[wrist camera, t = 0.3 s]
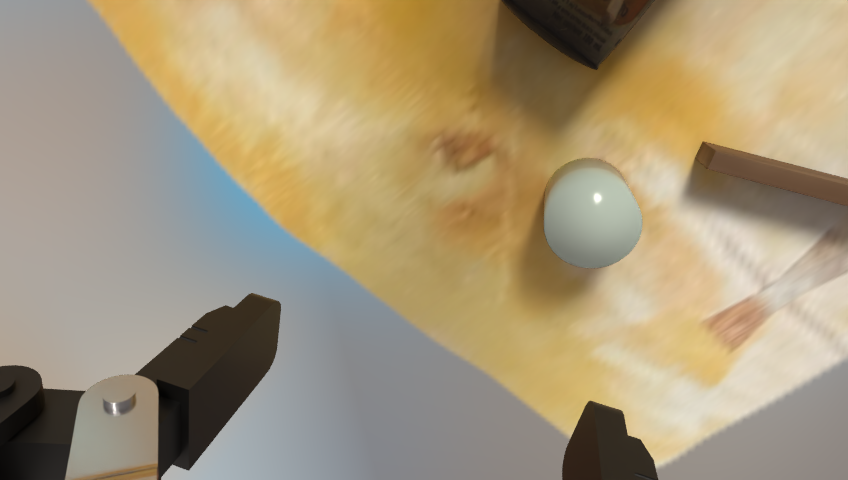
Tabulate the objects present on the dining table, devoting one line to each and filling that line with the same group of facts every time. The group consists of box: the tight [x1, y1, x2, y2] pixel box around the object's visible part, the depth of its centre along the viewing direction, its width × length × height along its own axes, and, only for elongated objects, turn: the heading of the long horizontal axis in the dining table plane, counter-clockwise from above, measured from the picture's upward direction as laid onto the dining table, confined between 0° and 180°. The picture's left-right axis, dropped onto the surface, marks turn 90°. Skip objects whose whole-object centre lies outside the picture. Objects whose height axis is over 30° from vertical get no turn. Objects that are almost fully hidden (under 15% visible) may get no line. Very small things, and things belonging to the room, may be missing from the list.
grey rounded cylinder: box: [544, 158, 642, 268], centre depth 35 cm, size 6×6×6 cm
